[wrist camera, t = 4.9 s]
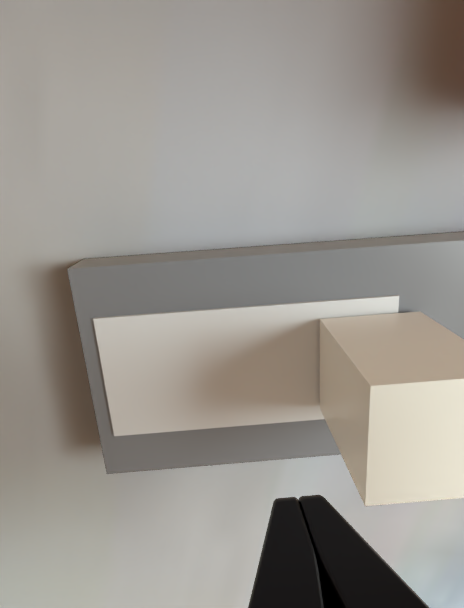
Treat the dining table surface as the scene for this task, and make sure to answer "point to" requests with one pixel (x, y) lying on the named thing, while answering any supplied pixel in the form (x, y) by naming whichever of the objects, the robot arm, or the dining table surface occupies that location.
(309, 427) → the breaker panel
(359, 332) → the block
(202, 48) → the dining table surface
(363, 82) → the dining table surface
